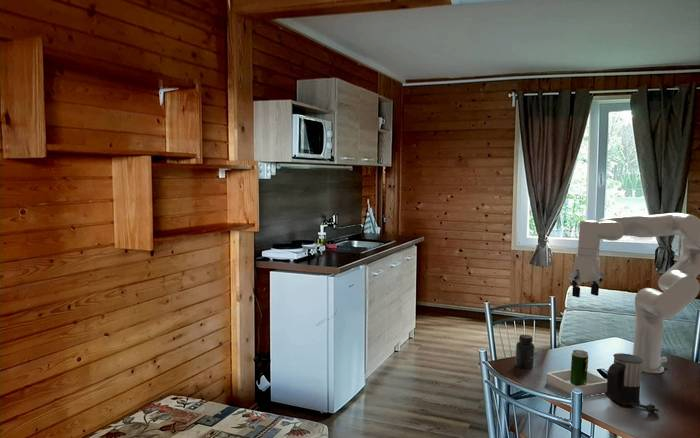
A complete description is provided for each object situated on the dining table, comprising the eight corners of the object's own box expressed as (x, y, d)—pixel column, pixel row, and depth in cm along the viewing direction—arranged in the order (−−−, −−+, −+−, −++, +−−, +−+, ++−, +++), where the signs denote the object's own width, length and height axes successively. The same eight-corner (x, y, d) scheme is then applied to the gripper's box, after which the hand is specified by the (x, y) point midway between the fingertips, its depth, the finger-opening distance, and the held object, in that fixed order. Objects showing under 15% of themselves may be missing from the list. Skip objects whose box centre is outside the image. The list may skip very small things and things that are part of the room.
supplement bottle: (534, 370, 214) (536, 339, 213) (515, 368, 215) (517, 338, 214) (532, 364, 220) (534, 334, 219) (514, 362, 222) (515, 332, 221)
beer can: (570, 386, 196) (572, 353, 195) (569, 381, 201) (571, 348, 200) (586, 389, 194) (589, 355, 193) (585, 383, 199) (588, 350, 198)
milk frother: (614, 392, 195) (617, 350, 193) (665, 405, 184) (668, 362, 183) (601, 404, 184) (605, 360, 182) (655, 419, 174) (658, 373, 172)
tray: (579, 378, 207) (579, 367, 206) (610, 392, 194) (611, 381, 194) (545, 383, 200) (546, 373, 200) (575, 399, 188) (576, 387, 187)
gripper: (596, 250, 222) (593, 292, 223) (563, 251, 215) (561, 295, 216) (612, 252, 215) (609, 296, 216) (579, 254, 208) (576, 299, 209)
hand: (585, 295), depth 216 cm, fingers open, 9 cm apart
